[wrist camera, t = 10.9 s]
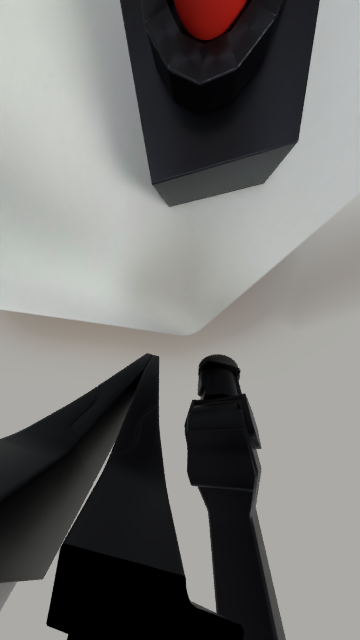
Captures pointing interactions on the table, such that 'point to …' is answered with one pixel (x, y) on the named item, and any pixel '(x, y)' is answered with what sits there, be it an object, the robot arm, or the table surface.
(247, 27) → the control block
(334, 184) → the table surface
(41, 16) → the table surface
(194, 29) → the button
